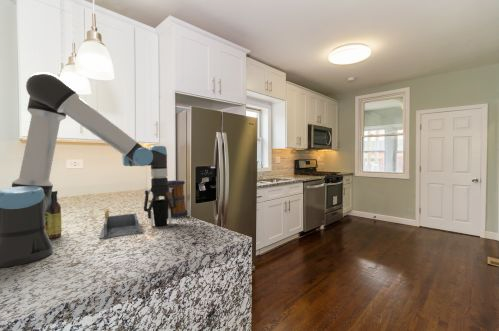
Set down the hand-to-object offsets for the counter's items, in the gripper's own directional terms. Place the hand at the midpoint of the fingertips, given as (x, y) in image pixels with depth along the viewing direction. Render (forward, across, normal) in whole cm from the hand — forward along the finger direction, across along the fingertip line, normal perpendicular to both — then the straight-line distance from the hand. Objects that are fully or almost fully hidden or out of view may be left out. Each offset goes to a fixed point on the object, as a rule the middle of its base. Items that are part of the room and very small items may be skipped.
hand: (160, 223), depth 117 cm
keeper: (+1, +17, 0) cm, 17 cm away
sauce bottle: (+1, +43, -6) cm, 43 cm away
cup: (+1, 0, 0) cm, 1 cm away
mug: (+1, -8, -18) cm, 20 cm away
